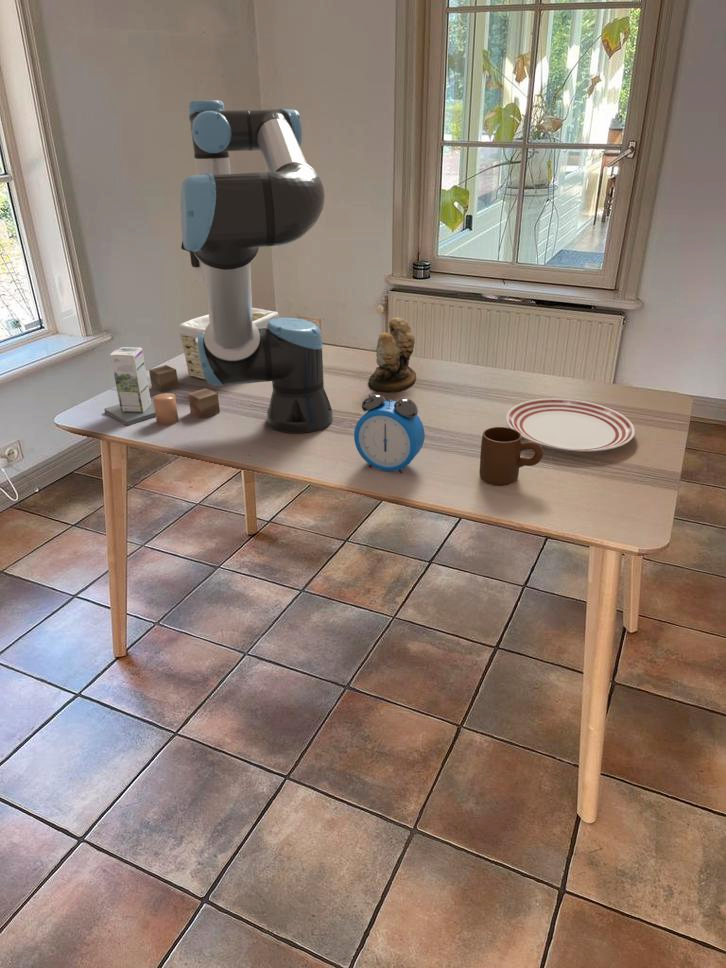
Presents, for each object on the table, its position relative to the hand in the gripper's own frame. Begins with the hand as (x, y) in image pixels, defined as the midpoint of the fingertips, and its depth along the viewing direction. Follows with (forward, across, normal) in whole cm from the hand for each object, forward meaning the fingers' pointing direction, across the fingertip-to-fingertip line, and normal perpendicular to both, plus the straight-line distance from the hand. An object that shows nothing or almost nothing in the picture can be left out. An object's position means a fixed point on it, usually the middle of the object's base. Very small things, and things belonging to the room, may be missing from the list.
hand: (224, 276), depth 171 cm
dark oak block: (+29, +9, -18) cm, 36 cm away
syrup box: (+29, +23, -9) cm, 38 cm away
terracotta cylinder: (+30, +22, +1) cm, 37 cm away
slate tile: (+29, +23, -9) cm, 39 cm away
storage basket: (+29, -12, -15) cm, 35 cm away
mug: (+30, -4, +77) cm, 83 cm away
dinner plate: (+30, -31, +76) cm, 87 cm away
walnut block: (+30, +13, +4) cm, 32 cm away
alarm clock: (+30, +6, +55) cm, 63 cm away
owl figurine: (+30, -33, +24) cm, 50 cm away
